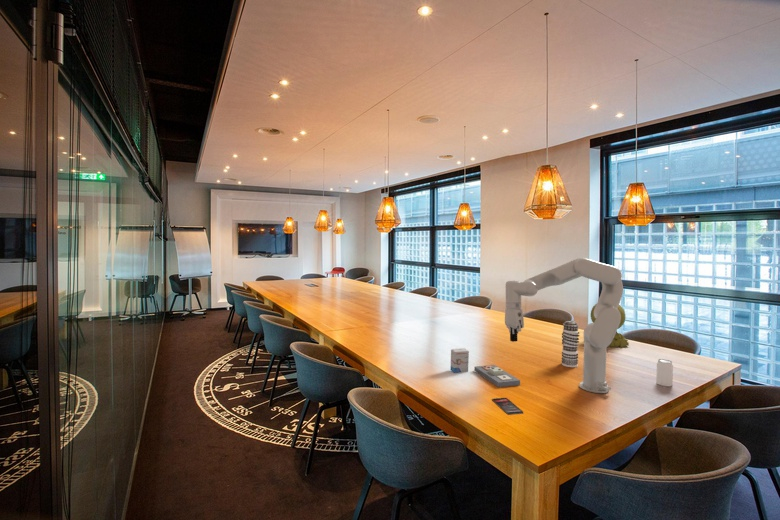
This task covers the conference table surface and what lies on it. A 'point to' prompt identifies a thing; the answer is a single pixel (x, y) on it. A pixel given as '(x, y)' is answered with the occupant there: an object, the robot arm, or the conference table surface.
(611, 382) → the conference table surface
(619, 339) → the trophy
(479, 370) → the console
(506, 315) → the robot arm
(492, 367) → the tile three
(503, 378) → the tile one
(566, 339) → the leaning tower model
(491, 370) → the tile two
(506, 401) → the smartphone
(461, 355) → the ink box
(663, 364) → the can
